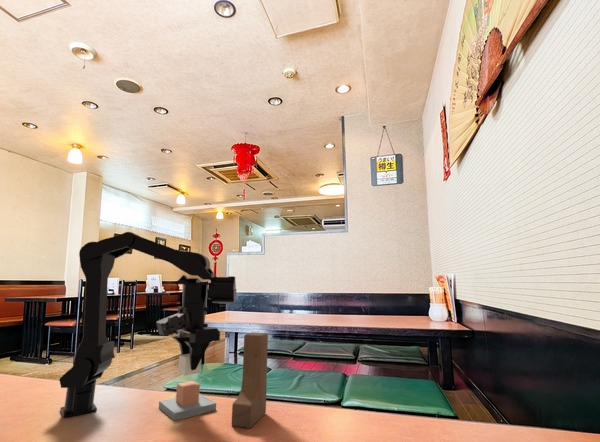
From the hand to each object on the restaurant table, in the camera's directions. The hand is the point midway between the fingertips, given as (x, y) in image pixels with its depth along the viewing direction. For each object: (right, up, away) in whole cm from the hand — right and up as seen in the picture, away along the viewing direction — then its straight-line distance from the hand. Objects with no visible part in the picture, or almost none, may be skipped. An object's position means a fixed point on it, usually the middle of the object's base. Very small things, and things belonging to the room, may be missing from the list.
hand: (189, 368), depth 80 cm
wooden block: (+16, -8, -8) cm, 20 cm away
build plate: (0, -9, -2) cm, 9 cm away
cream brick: (0, -1, 0) cm, 1 cm away
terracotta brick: (0, -8, -1) cm, 8 cm away
